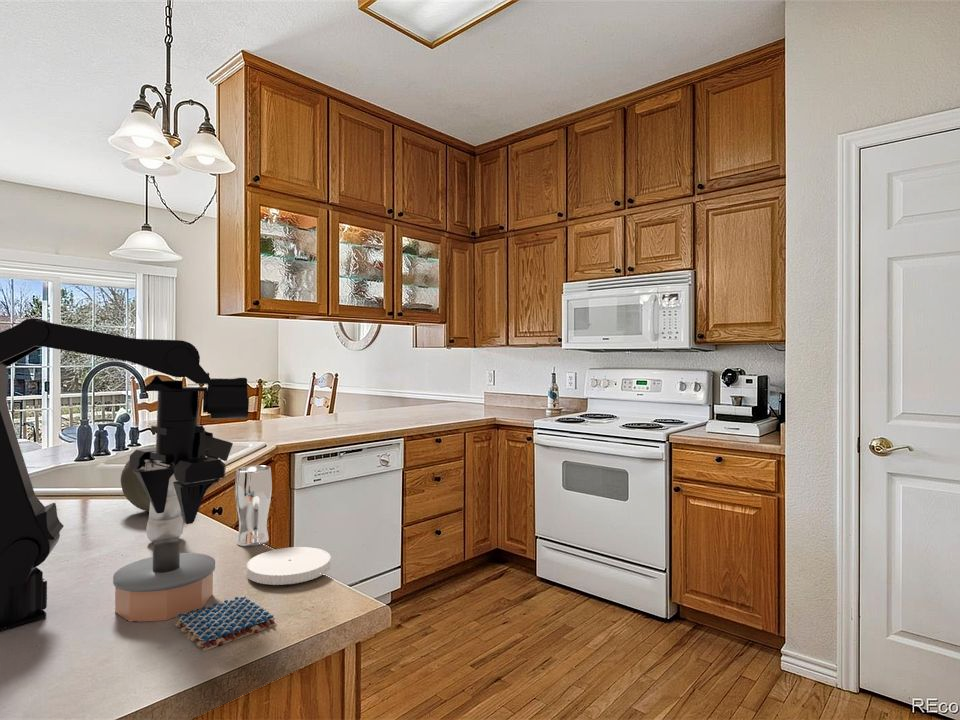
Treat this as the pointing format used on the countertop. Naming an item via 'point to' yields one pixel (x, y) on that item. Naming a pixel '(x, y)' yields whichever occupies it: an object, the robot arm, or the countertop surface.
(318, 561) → the plastic lid
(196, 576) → the cover
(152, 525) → the plastic bottle
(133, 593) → the bowl
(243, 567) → the countertop surface
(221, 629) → the woven mat
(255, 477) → the beer glass
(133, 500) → the cantaloupe
